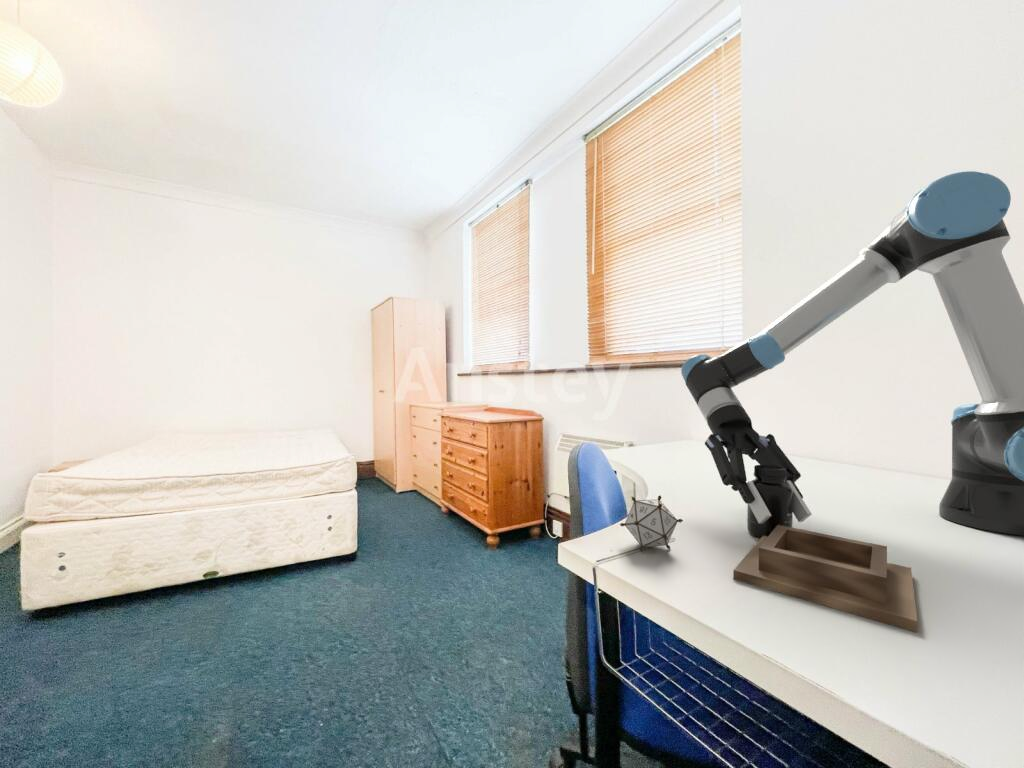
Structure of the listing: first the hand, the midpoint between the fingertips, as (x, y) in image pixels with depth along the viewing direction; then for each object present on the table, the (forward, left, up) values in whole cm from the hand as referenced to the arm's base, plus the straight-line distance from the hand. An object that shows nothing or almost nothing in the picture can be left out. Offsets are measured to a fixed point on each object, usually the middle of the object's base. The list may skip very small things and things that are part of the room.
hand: (785, 518), depth 71 cm
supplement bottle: (+3, -2, -4) cm, 6 cm away
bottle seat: (-6, +12, -4) cm, 14 cm away
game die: (+16, +18, -4) cm, 24 cm away
